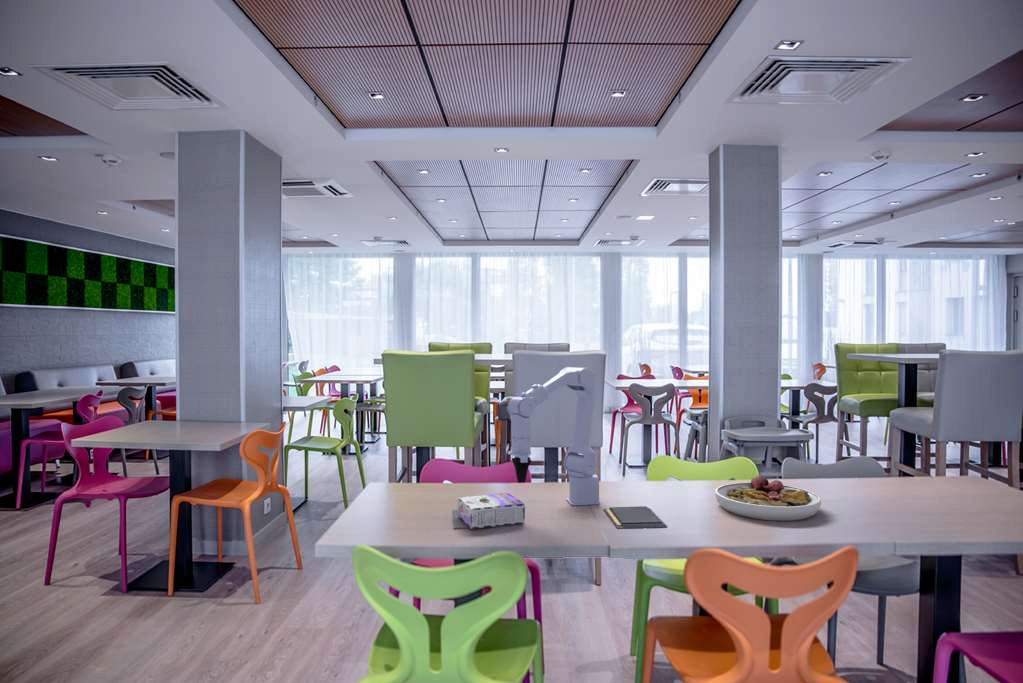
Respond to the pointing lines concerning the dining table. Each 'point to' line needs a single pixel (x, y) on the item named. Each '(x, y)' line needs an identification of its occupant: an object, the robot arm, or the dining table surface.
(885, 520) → the dining table surface
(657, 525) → the wallet
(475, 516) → the candy box
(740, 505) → the bowl
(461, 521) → the mat
